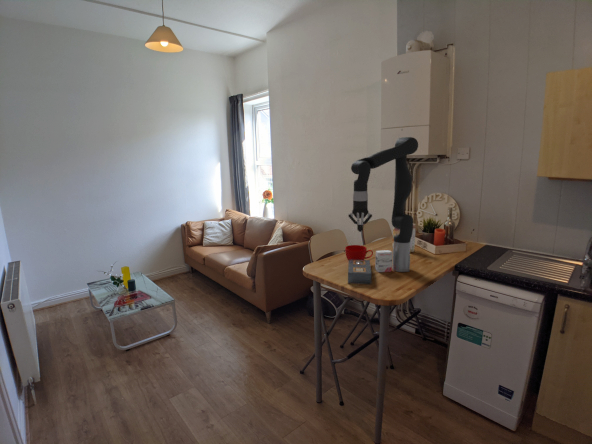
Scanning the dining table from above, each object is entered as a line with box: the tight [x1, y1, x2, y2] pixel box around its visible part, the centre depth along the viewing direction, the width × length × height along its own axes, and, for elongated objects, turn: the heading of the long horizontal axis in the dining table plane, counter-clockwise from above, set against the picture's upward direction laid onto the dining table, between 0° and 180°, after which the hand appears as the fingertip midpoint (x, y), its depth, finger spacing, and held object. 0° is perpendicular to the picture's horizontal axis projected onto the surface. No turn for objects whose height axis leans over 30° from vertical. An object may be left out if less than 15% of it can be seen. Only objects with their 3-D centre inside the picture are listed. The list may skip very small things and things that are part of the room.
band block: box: [347, 259, 372, 285], centre depth 183 cm, size 22×12×6 cm, turn 170°
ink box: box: [374, 249, 393, 273], centre depth 190 cm, size 8×5×12 cm, turn 96°
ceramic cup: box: [344, 244, 374, 262], centre depth 203 cm, size 13×17×10 cm
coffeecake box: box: [391, 223, 416, 253], centre depth 230 cm, size 15×7×20 cm, turn 25°
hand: (360, 231), depth 175 cm, fingers closed
